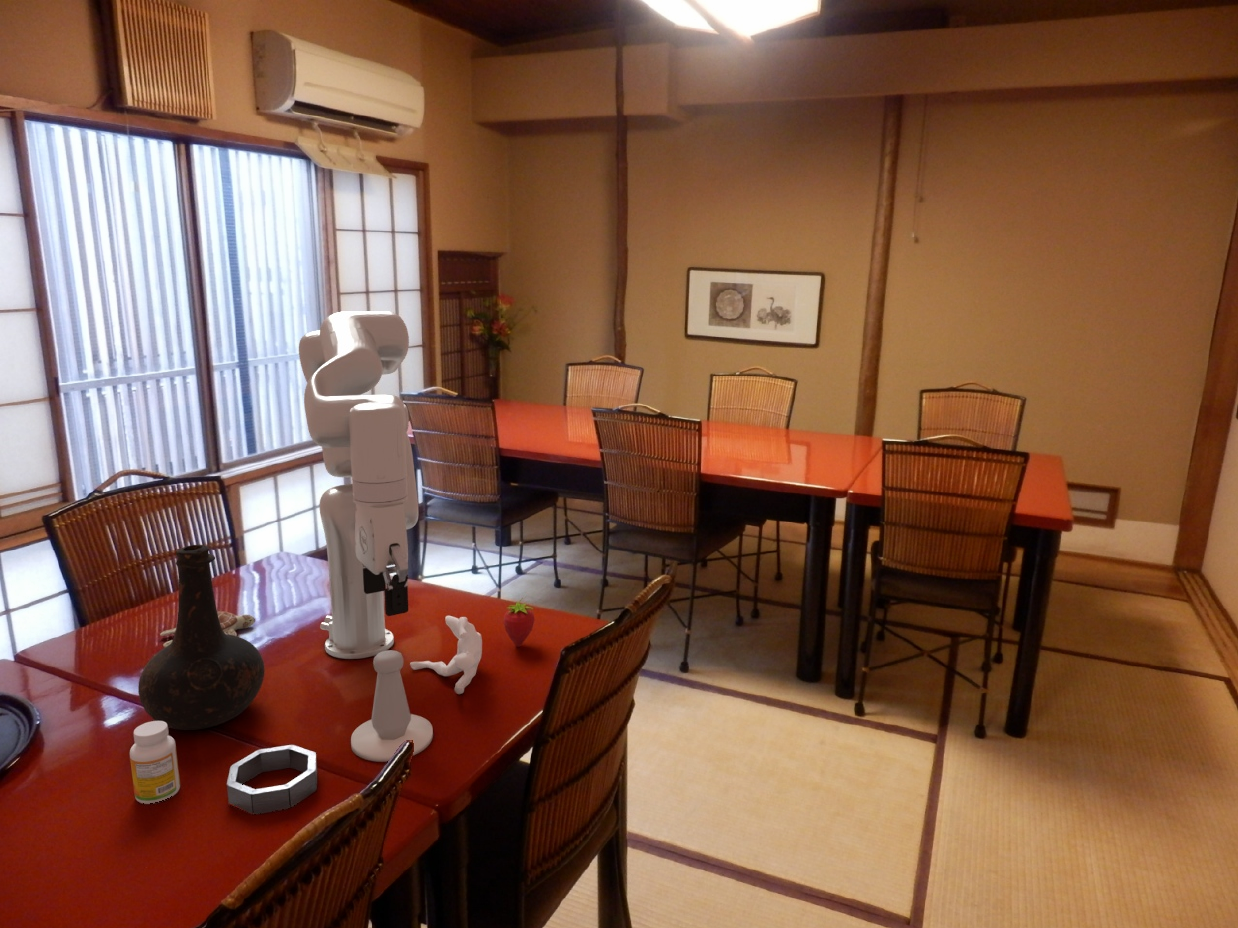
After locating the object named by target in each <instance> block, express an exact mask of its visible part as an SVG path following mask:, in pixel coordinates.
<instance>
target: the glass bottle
mask: <svg viewBox="0 0 1238 928" xmlns="http://www.w3.org/2000/svg"><path fill="white" fill-rule="evenodd" d="M175 553H176V556H177V560H176V562H175V565H176V566H177V567H178V605H177V606H178V607H177V608H178V609H177V619H176V627H175V628H176V631H175V634H173V639H171V640H172V642H171V644H170V645H168V646H167V647H163V648H162V649H161V650H159V651H158V652H157V653H155V654H154V655H153V656H152V657H151V658H150V659H149V661H148V662H147V663H146V664H145V666H144V668H143V669H142V671H141V674H140V677H139V680H138V688H137V689H138V692H137V693H138V697H139V701H140V703H141V705H142V707H143V709H144V711H145V712H146V713H147V715H148V716H149V717H150V718H151V719H153V721H164V722H166V723H167V725H168V729H173V730H180V731H196V730H202V729H208V728H212V727H216V726H219V725H221V724H222V725H223V724H225V723H226V722H228V721H231V720H233V719H235V718H236V717H238V716H239V715H240V714H242V713H243V712H244V711H245V710H247V708H248V707H249V706H250V705H251V704H252V702H253V701H254V700H255V698H256V697H257V695H258V693H259V692H260V690H261V687H262V685H263V682H264V679H265V672H266V671H265V670H266V669H265V662H264V658H263V656H262V654H261V653H260V650H259V649H258V648H257V647H256V646H255V645H254V644H253V643H252V642H250V641H248V640H247V639H244V638H242V637H240V636H234V635H229V634H225V633H224V631H223V629H222V627H221V624H220V621H219V617H218V613H217V611H218V609H217V604H216V599H215V593H214V586H213V580H212V579H213V578H212V575H211V574H212V571H211V567H210V566H211V565H210V563H212V562H214V560H215V559H216V556H215V555H214V554H212V553H210V547H209V546H208V545H204V544H192V545H191V544H190V545H187V546H184V547H181V548H180V549H177V550H176V552H175Z"/></svg>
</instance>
